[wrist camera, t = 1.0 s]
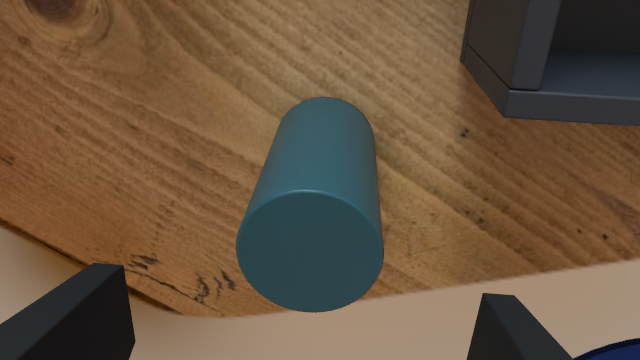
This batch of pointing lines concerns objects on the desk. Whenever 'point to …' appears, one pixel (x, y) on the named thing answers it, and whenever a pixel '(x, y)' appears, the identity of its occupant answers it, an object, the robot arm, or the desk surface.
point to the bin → (557, 58)
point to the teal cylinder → (315, 211)
